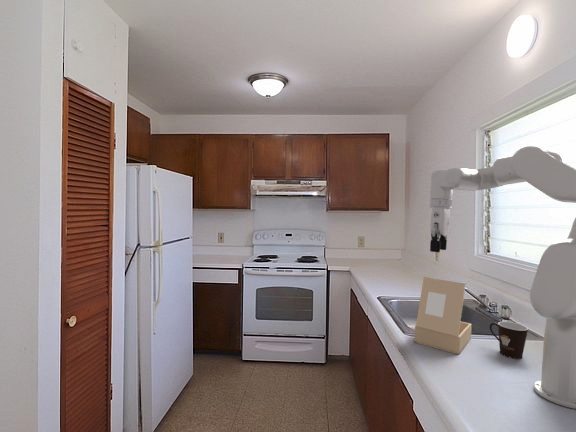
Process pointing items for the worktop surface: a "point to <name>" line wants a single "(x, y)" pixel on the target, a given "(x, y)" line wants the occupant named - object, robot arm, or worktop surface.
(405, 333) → the worktop surface
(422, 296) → the lid
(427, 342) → the tan shallow rectangular box
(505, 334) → the coffee mug
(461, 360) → the worktop surface
